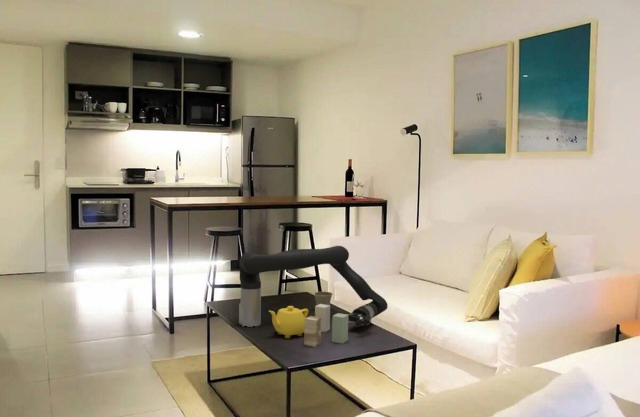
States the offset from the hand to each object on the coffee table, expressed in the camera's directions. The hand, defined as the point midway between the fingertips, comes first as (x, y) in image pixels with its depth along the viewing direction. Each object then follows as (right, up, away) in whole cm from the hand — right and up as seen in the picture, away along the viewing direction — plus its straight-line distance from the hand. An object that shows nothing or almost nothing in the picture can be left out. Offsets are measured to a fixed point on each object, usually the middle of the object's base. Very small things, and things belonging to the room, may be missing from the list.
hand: (347, 322), depth 242 cm
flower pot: (-11, -2, +42) cm, 44 cm away
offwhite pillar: (-11, -5, +9) cm, 15 cm away
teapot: (-26, -6, +1) cm, 26 cm away
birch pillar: (-15, -6, -11) cm, 20 cm away
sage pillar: (-4, -6, -6) cm, 10 cm away
